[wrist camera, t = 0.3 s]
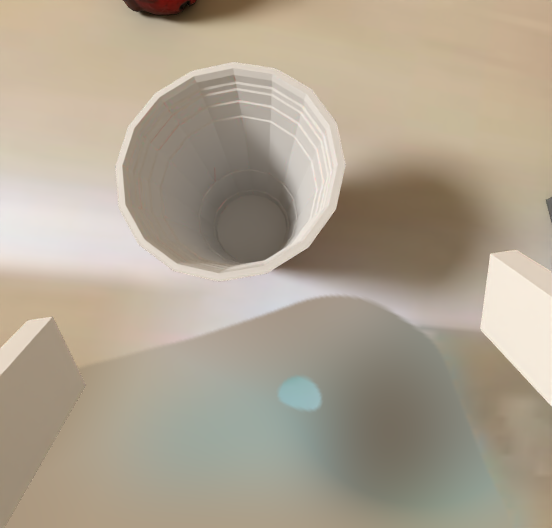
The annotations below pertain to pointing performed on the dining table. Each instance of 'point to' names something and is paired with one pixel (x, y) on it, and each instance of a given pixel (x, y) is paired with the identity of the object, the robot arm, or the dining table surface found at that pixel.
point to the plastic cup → (230, 171)
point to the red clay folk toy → (158, 6)
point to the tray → (549, 206)
